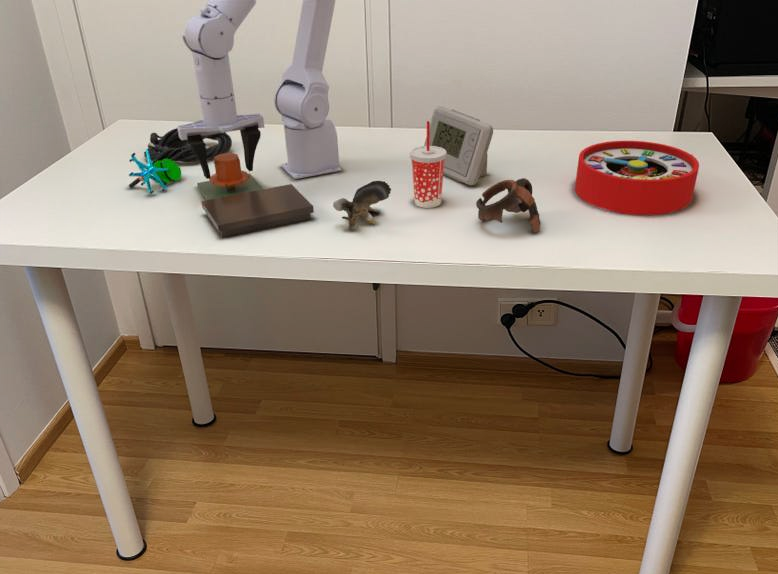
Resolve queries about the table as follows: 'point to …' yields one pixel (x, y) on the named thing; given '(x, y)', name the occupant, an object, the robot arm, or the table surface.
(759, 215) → the table surface
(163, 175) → the stick construction toy
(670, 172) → the toy clock
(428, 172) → the beverage cup
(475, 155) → the digital clock
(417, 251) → the table surface
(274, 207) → the stand
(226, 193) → the stand
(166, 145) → the cable
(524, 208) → the brown broken ring
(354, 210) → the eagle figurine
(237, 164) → the hat
